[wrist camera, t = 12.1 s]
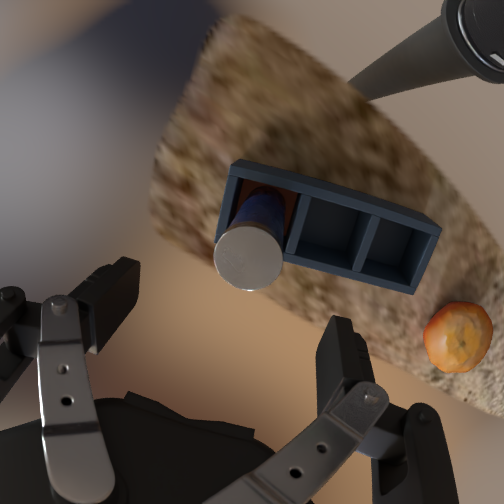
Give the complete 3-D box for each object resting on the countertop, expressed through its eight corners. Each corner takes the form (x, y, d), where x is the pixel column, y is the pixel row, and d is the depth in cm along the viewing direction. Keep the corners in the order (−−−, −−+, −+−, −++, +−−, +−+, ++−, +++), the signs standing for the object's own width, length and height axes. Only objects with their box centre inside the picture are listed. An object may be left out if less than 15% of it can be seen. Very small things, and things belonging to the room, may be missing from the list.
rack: (239, 158, 28) (230, 164, 24) (423, 213, 27) (442, 228, 23) (224, 226, 30) (213, 242, 26) (399, 273, 30) (413, 295, 26)
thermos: (249, 179, 28) (220, 218, 17) (291, 190, 28) (291, 236, 17) (240, 219, 29) (208, 280, 18) (280, 230, 29) (272, 297, 18)
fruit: (450, 368, 32) (453, 396, 25) (414, 326, 35) (410, 345, 28) (496, 325, 29) (511, 343, 22) (459, 280, 32) (467, 289, 25)
